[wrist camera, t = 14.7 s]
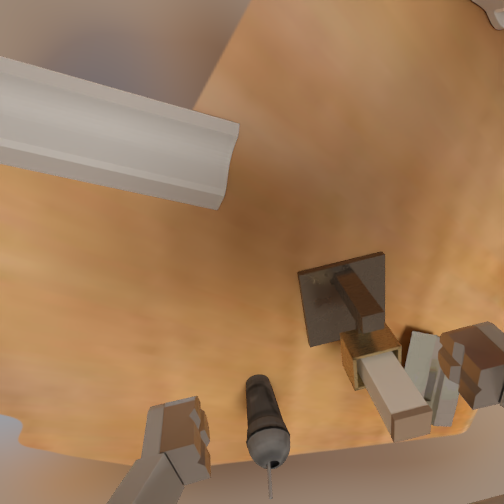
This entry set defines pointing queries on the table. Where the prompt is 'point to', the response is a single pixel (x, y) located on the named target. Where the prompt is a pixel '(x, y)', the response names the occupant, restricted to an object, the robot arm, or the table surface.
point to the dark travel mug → (265, 426)
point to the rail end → (395, 396)
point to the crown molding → (111, 137)
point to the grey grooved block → (431, 377)
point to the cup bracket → (349, 310)
